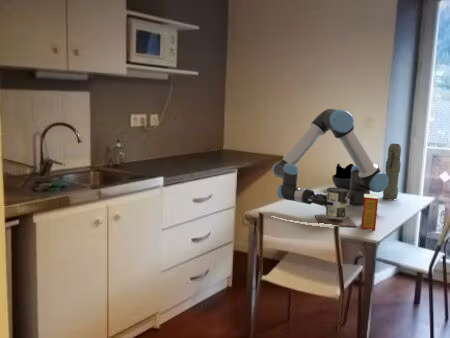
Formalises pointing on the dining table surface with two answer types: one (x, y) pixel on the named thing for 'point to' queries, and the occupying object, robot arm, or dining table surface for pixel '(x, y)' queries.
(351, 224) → the walnut board
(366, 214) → the baking soda box
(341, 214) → the coffee can
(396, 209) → the dining table surface
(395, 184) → the olive green rough column
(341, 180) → the coal bowl
